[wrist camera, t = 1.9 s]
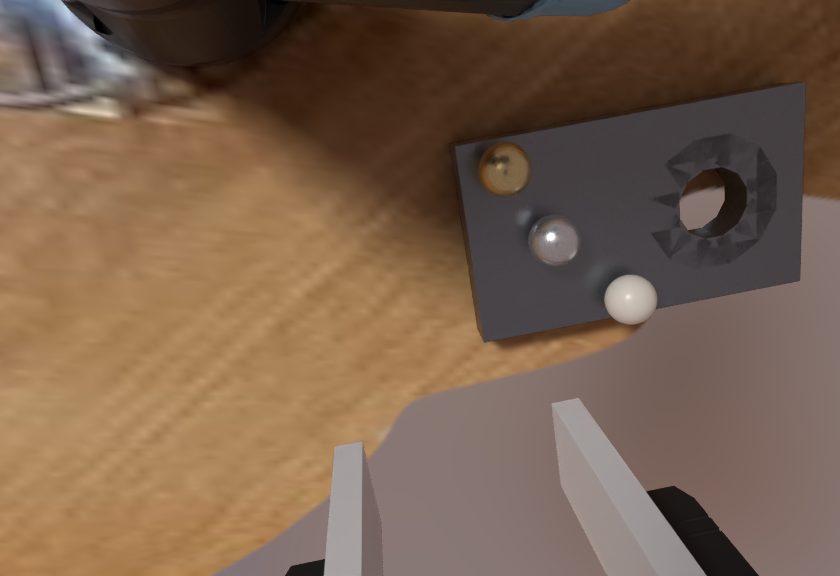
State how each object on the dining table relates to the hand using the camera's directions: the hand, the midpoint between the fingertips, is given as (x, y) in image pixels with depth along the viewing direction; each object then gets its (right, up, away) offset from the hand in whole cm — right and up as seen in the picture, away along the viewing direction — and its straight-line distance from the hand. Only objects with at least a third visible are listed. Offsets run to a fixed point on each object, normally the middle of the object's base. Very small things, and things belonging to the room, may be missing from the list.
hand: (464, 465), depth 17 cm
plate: (+13, +10, +24) cm, 29 cm away
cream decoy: (+12, +4, +22) cm, 25 cm away
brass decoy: (+4, +12, +18) cm, 22 cm away
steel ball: (+7, +8, +20) cm, 23 cm away
